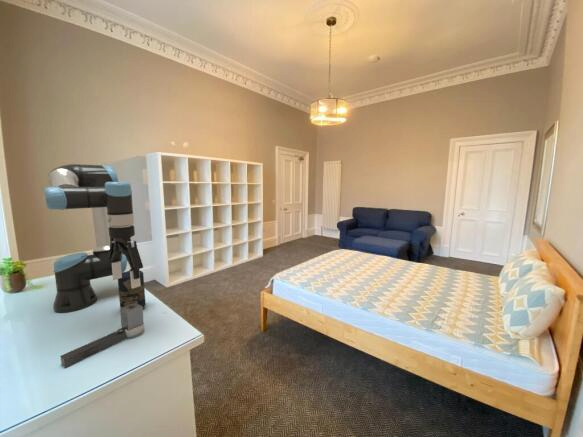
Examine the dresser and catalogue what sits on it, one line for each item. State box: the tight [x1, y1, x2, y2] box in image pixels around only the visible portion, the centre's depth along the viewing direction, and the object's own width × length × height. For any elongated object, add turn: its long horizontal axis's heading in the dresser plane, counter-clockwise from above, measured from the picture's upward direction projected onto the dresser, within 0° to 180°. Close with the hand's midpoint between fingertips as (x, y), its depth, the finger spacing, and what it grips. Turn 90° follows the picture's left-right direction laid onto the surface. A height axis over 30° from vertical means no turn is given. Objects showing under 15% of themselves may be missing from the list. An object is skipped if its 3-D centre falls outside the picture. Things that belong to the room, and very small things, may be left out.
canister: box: [117, 269, 146, 309], centre depth 108 cm, size 10×10×18 cm
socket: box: [119, 303, 144, 330], centre depth 91 cm, size 5×5×7 cm
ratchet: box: [60, 321, 145, 369], centre depth 84 cm, size 7×24×7 cm, turn 148°
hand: (126, 282), depth 90 cm, fingers open, 13 cm apart
